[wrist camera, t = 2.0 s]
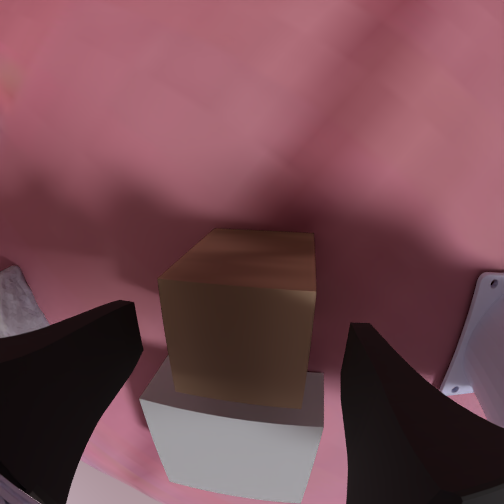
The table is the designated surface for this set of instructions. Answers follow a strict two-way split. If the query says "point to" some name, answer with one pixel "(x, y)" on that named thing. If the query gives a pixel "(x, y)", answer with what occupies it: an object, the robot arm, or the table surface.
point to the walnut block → (241, 316)
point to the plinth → (235, 440)
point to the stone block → (18, 305)
